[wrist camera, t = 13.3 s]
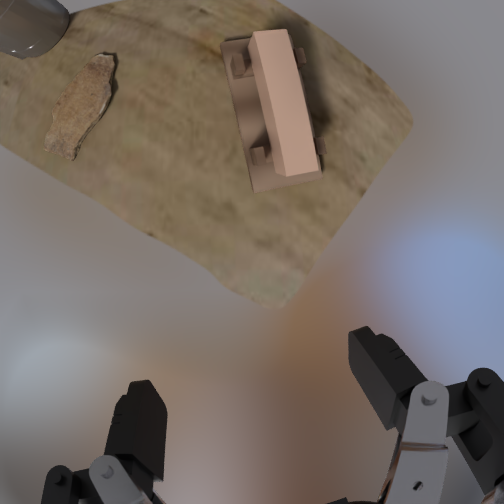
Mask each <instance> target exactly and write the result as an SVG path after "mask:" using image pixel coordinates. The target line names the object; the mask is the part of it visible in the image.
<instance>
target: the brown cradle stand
mask: <svg viewBox="0 0 504 504" xmlns="http://www.w3.org/2000/svg"><path fill="white" fill-rule="evenodd" d="M288 36H289V39H290V43H291V47H292V50H293V54H294V58H295V62H296V65H297V69H298V73H299V77H300V81H301V86H302V90H303V94H304V98H305V103H306V107H307V112H308V117H309V121H310V126H311V131H312V136H313V142H314V147H315V152H316V158H317V163H318V169H319V171H313V172H308V173H303V174H297V175H292V176H287V177H286V176H283V175H280V174H277V173H276V171H275V166H274V161H273V157H272V152H271V147H270V142H269V138H268V133H267V128H266V124H265V119H264V115H263V110H262V106H261V101H260V97H259V93H258V88H257V84H256V80H255V76H254V72H253V68H252V64H251V59H250V55H249V51H248V45H249V42H250V40H251V38H247V39H240V40H233V41H227V42H221V43H220V49H221V53H222V57H223V61H224V66H225V70H226V74H227V78H228V83H229V87H230V91H231V96H232V100H233V104H234V109H235V113H236V118H237V122H238V126H239V131H240V135H241V140H242V144H243V149H244V153H245V158H246V162H247V167H248V172H249V176H250V181H251V185H252V190H253V192H254V193H258V192H262V191H267V190H271V189H276V188H281V187H285V186H290V185H295V184H300V183H305V182H310V181H315V180H320V179H323V178H322V171H321V166H320V160H319V155H321V154H327V153H326V147H325V142H324V136H322V137H315V133H314V128H313V123H312V118H311V113H310V109H309V104H308V100H307V95H306V91H305V87H304V83H303V79H302V74H301V71H300V68H301V67H302V66H303V65H305V64H306V63H307V61H306V57H305V54H304V50H303V48H294V44H293V41H292V37H291V34H290V35H288Z"/></svg>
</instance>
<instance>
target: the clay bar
mask: <svg viewBox="0 0 504 504" xmlns="http://www.w3.org/2000/svg"><path fill="white" fill-rule="evenodd" d="M248 51H249V55H250V59H251V64H252V68H253V72H254V76H255V80H256V84H257V88H258V93H259V97H260V101H261V106H262V110H263V115H264V119H265V124H266V128H267V133H268V138H269V142H270V147H271V152H272V157H273V161H274V166H275V171H276V173H277V174H280V175H283V176H286V177H287V176H292V175H297V174H303V173H308V172H313V171H319V169H318V163H317V158H316V152H315V147H314V142H313V136H312V131H311V126H310V121H309V117H308V112H307V107H306V103H305V98H304V94H303V90H302V86H301V81H300V77H299V73H298V69H297V65H296V62H295V58H294V54H293V50H292V47H291V43H290V39H289V36H288V32H287V29H280V30H267V31H257V32H253V35H252V37H251V40H250V42H249V45H248Z"/></svg>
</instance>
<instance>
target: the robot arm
mask: <svg viewBox="0 0 504 504" xmlns="http://www.w3.org/2000/svg"><path fill="white" fill-rule="evenodd" d="M68 23H69V12H68V10H67V9H66V8H65V7H64V6H63V5H62V4H60V3H59V2H58V1H57V0H0V52H3V53H6V54H9V55H12V56H14V57H17V58H20V59H24V58H26V57H37V56H40V55H42V54H44V53H46V52H47V51H48V50H50V49H51V48H52V47H53V46H54V45H55V44H56V43H57V42H58V41H59V40H60V39H61V37H62V36H63V34H64V33H65V31H66V29H67V26H68ZM348 345H349V365H350V368H351V370H352V373H353V374H354V376H355V378H356V379H357V381H358V383H359V384H360V386H361V388H362V389H363V391H364V393H365V394H366V396H367V398H368V400H369V401H370V403H371V405H372V406H373V408H374V410H375V411H376V413H377V415H378V417H379V418H380V420H381V422H382V423H383V425H384V427H385V429H386V430H389V429H391V428H393V427H396V429H397V430H398V432H399V433H398V436H397V441H396V444H395V449H394V452H393V456H392V459H391V463H390V466H389V470H388V473H387V476H386V478H385V481H384V483H383V486H382V489H381V491H380V494H379V497H378V499H377V502H371V501H353V502H348V501H347V498H346V497H345V498H342V499H340V500H337V501H334V502H331V503H327V504H439V500H440V496H441V492H442V487H443V483H444V478H445V472H446V467H447V461H448V447H446V446H445V438H446V437H448V436H452V438H453V440H454V442H455V443H456V445H457V446H458V448H459V450H460V451H461V453H462V455H463V457H464V458H465V460H466V462H467V464H468V465H469V467H470V469H471V471H472V472H473V474H474V476H475V478H476V479H477V481H478V483H479V485H480V487H481V489H482V491H483V493H484V495H485V497H484V498H483V500H482V502H481V504H504V382H503V381H502V380H501V378H500V377H499V376H498V375H497V374H496V373H495V372H494V371H493V370H491V369H488V368H478V369H475V370H474V371H472V372H471V373H470V375H469V377H468V379H467V381H465V382H461V383H457V384H453V385H450V386H444V385H443V384H441V383H439V382H436V381H428V380H427V379H426V378H425V377H424V375H423V374H422V373H421V372H420V371H419V369H418V368H417V367H416V366H415V364H414V363H413V362H412V361H411V360H410V358H409V357H408V356H407V355H405V353H404V352H403V350H402V349H400V347H399V346H398V345H397V343H396V342H395V341H394V340H393V339H392V338H390V337H388V336H386V335H384V334H379V335H375V334H374V333H373V331H372V330H371V329H370V328H369V327H368V326H365V327H362V328H359V329H356V330H354V331H350V332H349V334H348ZM113 415H114V417H113V418H112V422H111V423H112V425H111V426H110V430H109V434H108V439H107V443H106V447H105V452H104V455H103V456H100V457H98V458H96V459H95V460H94V461H93V462H92V464H91V466H90V468H89V469H84V470H80V471H75V472H72V471H71V470H69V469H68V468H67V467H66V466H62V465H58V466H55V467H53V468H52V469H51V470H50V471H49V472H48V474H47V476H46V481H45V485H44V490H43V495H42V501H41V504H166V503H165V502H164V501H163V500H162V498H161V497H160V496H159V495H158V494H157V493H156V491H155V490H154V489H153V482H160V481H162V482H163V477H164V457H165V441H166V429H167V409H166V406H165V404H164V402H163V400H162V399H161V397H160V396H159V394H158V393H157V391H156V389H155V388H154V386H153V385H152V383H151V382H150V381H149V380H142V381H134V382H131V383H130V385H129V388H128V392H127V395H122V397H121V398H120V400H119V401H118V402H117V404H116V406H115V410H114V414H113Z"/></svg>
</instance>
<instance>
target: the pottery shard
mask: <svg viewBox="0 0 504 504" xmlns="http://www.w3.org/2000/svg"><path fill="white" fill-rule="evenodd" d="M114 61H115V60H114V56H113V55H104V54H103V53H101V54H99V55H96V56H95V57H92V59H91V60H90V62H89V63H88V64H86V66H85V67H84V68H83V70H82V71H81V72H80V73H79V74H77V75H76V76H75V78H74V80H73V81H72V82H71V83H69V84H68V85H67V87H66V89H65V90H64V91H63V92H62V93H61V96H60V98H59V99H58V100H57V102H56V103H55V106H54V108H53V109H52V116H53V124H52V126H51V127H50V130H49V131H48V133H47V134H46V138H45V143H44V149H45V150H46V151H48V152H51V153H55V154H58V155H60V156H62V157H65V158H68V159H69V160H71V161H73V160H74V159H75V157H76V155H77V153H78V151H79V149H80V144H81V143H82V141H83V139H84V138H85V136H86V135H87V134H88V133H89V131H90V130H91V129H92V128H93V126H94V125H95V124H96V123H97V122H98V121H99V120H100V118H101V117H102V114H103V113H104V112H105V110H106V108H107V106H108V104H109V100H110V96H111V95H112V91H111V86H112V79H113V72H114V69H115V62H114Z"/></svg>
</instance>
